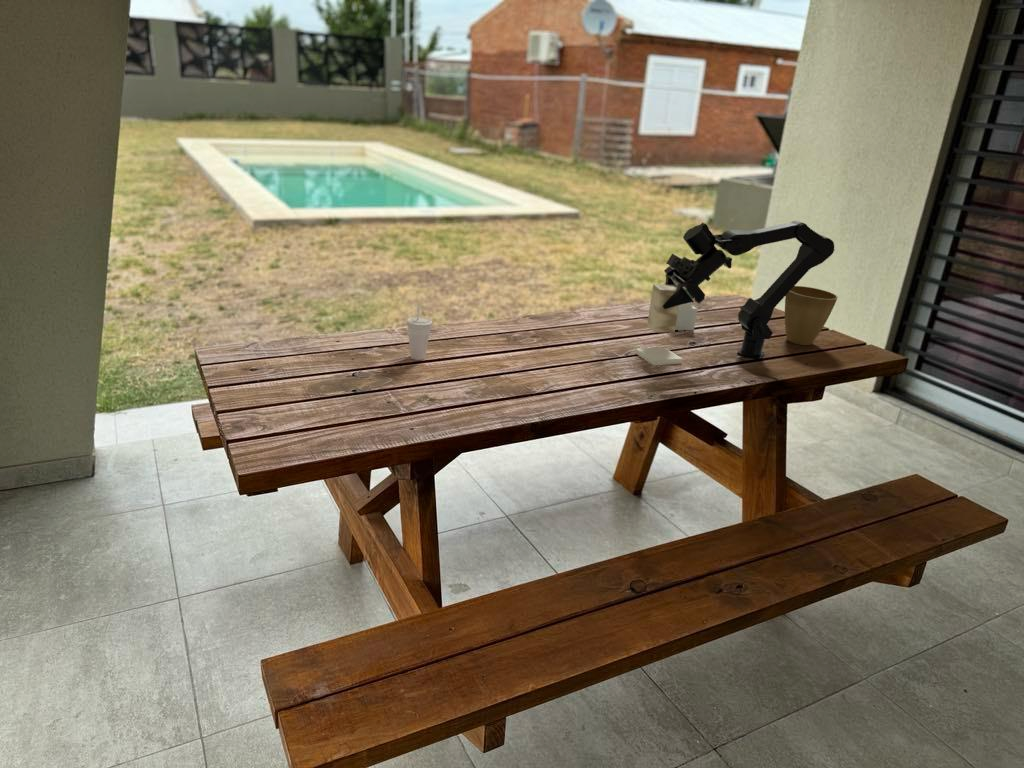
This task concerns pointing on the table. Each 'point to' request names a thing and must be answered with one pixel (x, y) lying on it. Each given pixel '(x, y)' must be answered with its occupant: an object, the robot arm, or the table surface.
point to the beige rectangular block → (662, 309)
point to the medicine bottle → (686, 317)
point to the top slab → (658, 356)
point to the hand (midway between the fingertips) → (659, 304)
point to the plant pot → (807, 313)
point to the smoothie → (418, 335)
